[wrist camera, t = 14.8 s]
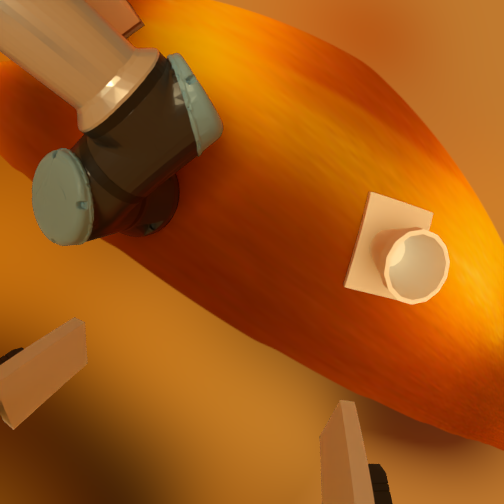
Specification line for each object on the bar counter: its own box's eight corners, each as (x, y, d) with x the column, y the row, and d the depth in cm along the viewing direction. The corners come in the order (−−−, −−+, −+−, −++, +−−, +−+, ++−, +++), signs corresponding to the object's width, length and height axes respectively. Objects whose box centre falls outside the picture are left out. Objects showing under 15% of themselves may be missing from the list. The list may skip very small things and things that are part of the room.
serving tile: (343, 284, 48) (344, 287, 46) (368, 191, 44) (371, 191, 43) (403, 299, 47) (406, 302, 45) (429, 212, 43) (433, 213, 42)
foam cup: (419, 230, 42) (458, 243, 30) (402, 281, 45) (433, 310, 32) (370, 211, 43) (398, 219, 31) (352, 266, 45) (373, 293, 33)
